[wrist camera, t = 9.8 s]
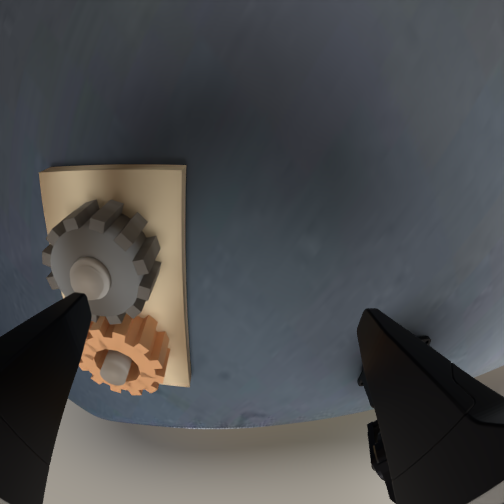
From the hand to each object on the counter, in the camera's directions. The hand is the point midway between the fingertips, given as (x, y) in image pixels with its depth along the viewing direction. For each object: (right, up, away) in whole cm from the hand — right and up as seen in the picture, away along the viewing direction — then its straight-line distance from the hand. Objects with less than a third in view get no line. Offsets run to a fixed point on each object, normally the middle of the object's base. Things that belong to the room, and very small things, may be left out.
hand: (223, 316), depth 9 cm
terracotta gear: (-9, -5, +13) cm, 17 cm away
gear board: (-9, -1, +13) cm, 15 cm away
